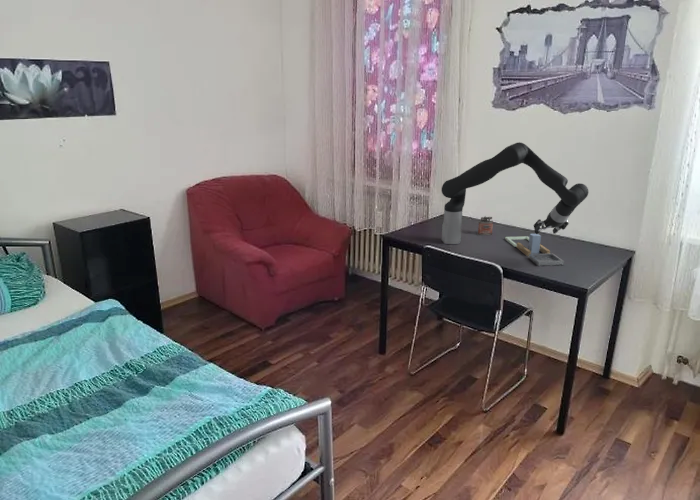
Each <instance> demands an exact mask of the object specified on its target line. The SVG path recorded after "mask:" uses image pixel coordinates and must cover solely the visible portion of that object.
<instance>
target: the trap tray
mask: <svg viewBox="0 0 700 500" xmlns="http://www.w3.org/2000/svg"><path fill="white" fill-rule="evenodd" d="M528 259H529V260H530V261H532V263H534V264H535V265H536V266H538V267H549V266H550V267H551V266H553V267H554V266H564V265H565V260H563V259H562V258H560V257H559V256H557V255H556V254H555V253H551V252H550V254H543V253H533V254H529V256H528Z"/></svg>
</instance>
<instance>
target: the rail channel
mask: <svg viewBox="0 0 700 500" xmlns="http://www.w3.org/2000/svg"><path fill="white" fill-rule="evenodd" d="M516 244H517V247H516V249H518V250H519V251H520V252H521V253H523V254H524V255H525V256H526V257H529V254H531V251H530V250H529V249H528V247H526V246H525V245H524V244H523V243H521V242H516ZM539 252H541V254H551V250H550V249H548V248H547V247H546V246H544V245H542V244H541V243H540V249H539Z"/></svg>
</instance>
